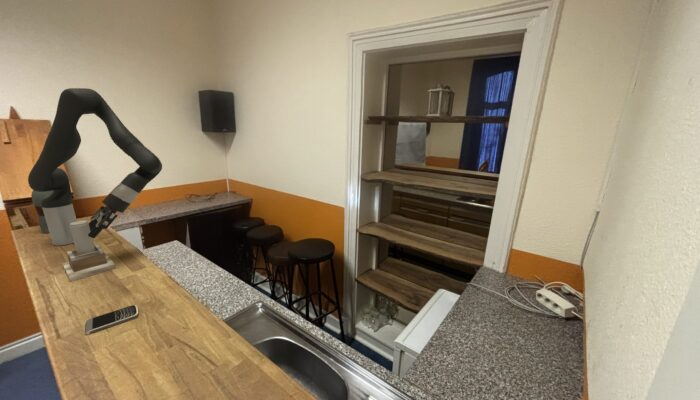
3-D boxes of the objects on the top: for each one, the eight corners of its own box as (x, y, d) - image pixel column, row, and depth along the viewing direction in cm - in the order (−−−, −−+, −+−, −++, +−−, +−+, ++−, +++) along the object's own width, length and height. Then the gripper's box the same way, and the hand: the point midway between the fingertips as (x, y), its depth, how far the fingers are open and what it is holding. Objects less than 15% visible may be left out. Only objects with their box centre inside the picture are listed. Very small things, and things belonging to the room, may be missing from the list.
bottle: (35, 234, 135) (17, 173, 127) (51, 228, 143) (35, 170, 136) (58, 233, 136) (42, 172, 129) (72, 226, 145) (57, 169, 138)
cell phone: (139, 318, 76) (138, 313, 75) (84, 337, 69) (83, 332, 68) (137, 307, 80) (136, 303, 80) (85, 324, 73) (84, 320, 73)
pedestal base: (63, 267, 103) (58, 250, 101) (105, 255, 112) (101, 240, 110) (70, 281, 93) (65, 263, 91) (115, 267, 102) (111, 251, 101)
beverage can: (86, 256, 99) (78, 224, 96) (73, 256, 99) (65, 224, 96) (99, 250, 104) (91, 220, 101) (86, 250, 104) (78, 220, 101)
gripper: (106, 189, 108) (73, 225, 102) (115, 194, 100) (80, 234, 94) (125, 200, 114) (95, 234, 108) (136, 206, 105) (104, 243, 99)
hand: (88, 234), depth 101 cm, fingers open, 8 cm apart
